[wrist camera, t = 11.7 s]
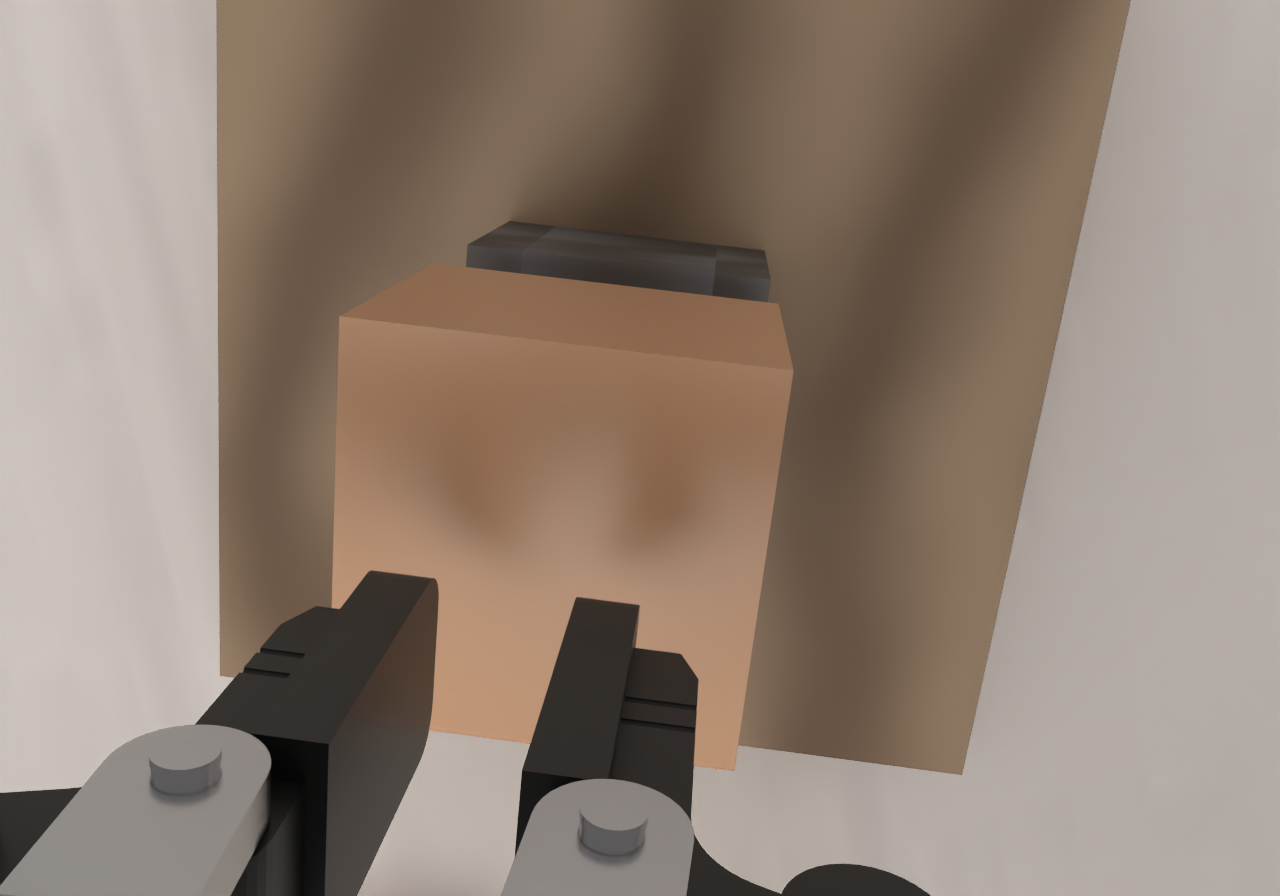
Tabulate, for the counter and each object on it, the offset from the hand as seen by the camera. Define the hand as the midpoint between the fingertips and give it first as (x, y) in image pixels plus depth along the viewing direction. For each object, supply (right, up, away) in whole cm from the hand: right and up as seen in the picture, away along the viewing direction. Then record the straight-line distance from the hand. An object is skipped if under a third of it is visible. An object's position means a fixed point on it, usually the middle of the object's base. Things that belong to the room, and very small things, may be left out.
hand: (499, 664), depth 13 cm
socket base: (+1, +5, +16) cm, 17 cm away
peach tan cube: (+1, +2, +8) cm, 8 cm away
